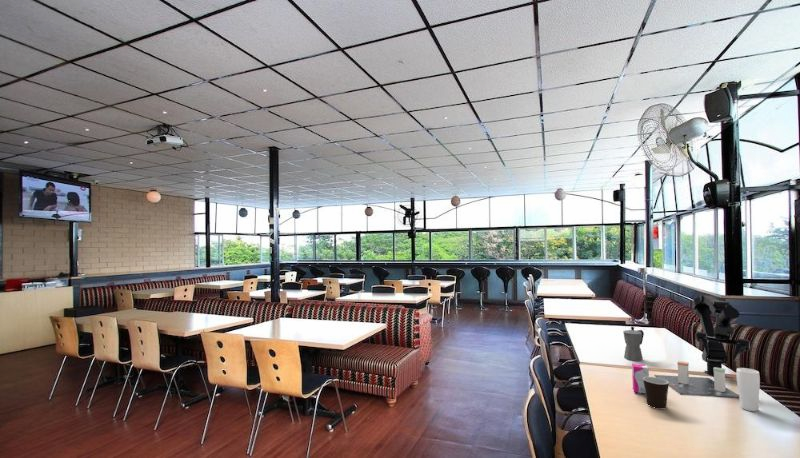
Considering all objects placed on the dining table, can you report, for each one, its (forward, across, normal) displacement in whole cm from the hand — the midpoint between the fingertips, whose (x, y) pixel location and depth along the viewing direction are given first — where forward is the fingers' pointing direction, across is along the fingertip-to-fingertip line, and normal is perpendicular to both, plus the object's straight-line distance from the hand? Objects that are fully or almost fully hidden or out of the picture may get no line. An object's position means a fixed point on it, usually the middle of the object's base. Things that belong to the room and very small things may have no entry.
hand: (720, 358), depth 173 cm
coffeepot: (-2, -40, +30) cm, 50 cm away
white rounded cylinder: (+22, +11, -8) cm, 26 cm away
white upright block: (+14, +1, +4) cm, 14 cm away
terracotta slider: (+14, -12, +5) cm, 19 cm away
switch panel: (+14, -8, +5) cm, 17 cm away
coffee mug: (+34, -15, -24) cm, 45 cm away
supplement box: (+29, -24, -15) cm, 40 cm away
